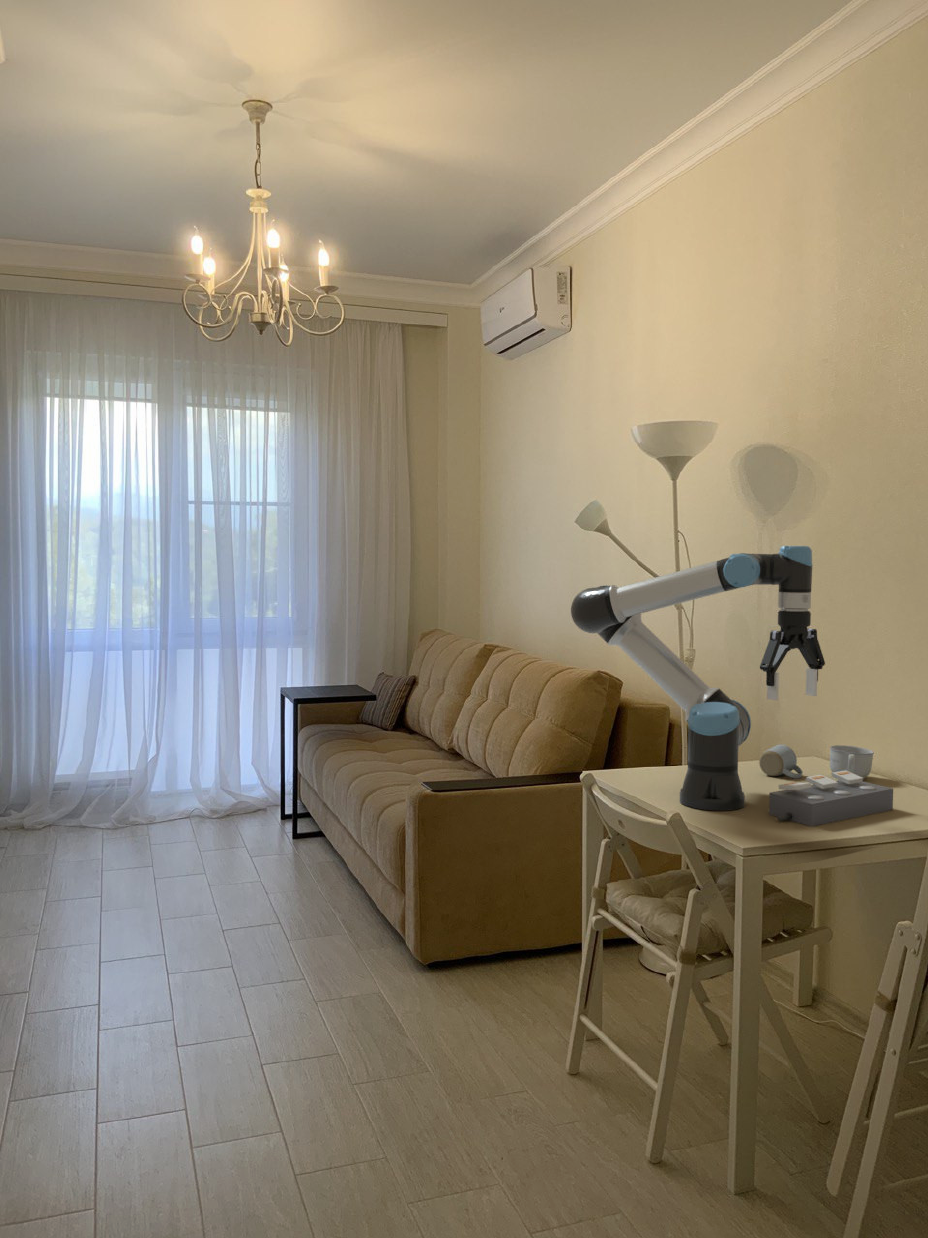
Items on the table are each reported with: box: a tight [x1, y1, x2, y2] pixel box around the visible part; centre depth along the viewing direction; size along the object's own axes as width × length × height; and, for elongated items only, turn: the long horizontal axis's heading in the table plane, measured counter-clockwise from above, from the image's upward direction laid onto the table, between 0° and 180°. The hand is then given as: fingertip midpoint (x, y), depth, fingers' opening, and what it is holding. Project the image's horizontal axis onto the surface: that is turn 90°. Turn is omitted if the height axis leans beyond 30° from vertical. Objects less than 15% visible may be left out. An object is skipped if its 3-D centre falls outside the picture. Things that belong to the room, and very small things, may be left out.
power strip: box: [768, 780, 894, 827], centre depth 235 cm, size 32×12×5 cm, turn 121°
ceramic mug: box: [758, 744, 804, 780], centre depth 274 cm, size 11×8×8 cm
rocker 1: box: [778, 781, 812, 791], centre depth 234 cm, size 5×5×1 cm
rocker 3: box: [830, 770, 864, 784], centre depth 243 cm, size 5×5×1 cm
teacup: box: [829, 744, 874, 780], centre depth 270 cm, size 14×11×8 cm
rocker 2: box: [805, 774, 838, 789], centre depth 239 cm, size 5×5×1 cm
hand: (792, 697), depth 248 cm, fingers open, 13 cm apart
